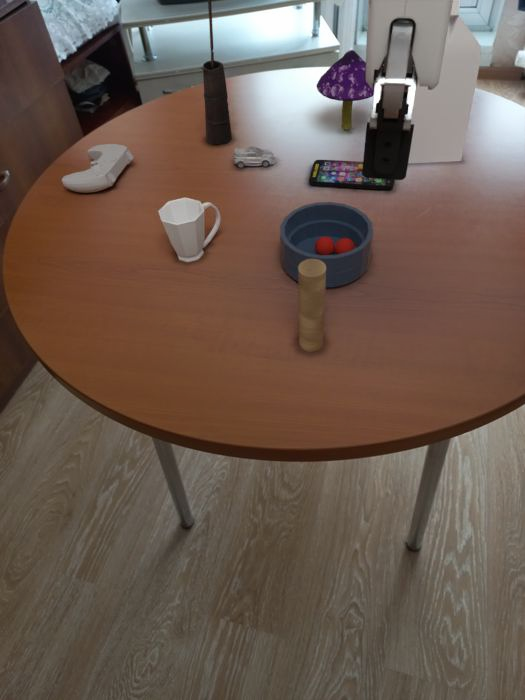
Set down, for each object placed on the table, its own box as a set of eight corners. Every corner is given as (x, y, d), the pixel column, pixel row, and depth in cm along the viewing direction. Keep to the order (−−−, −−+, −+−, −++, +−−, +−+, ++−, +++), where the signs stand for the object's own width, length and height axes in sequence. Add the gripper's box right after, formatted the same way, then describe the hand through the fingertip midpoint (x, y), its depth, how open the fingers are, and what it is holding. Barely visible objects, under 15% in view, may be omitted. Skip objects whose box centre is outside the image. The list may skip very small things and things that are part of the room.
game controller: (89, 140, 103) (131, 133, 99) (100, 161, 106) (141, 154, 102) (53, 179, 94) (98, 173, 90) (66, 200, 97) (110, 195, 93)
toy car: (275, 167, 98) (274, 152, 96) (233, 168, 98) (231, 154, 96) (275, 157, 100) (275, 142, 98) (234, 158, 101) (233, 144, 99)
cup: (160, 253, 83) (148, 210, 77) (209, 226, 87) (202, 183, 81) (184, 274, 79) (174, 230, 73) (235, 245, 83) (229, 201, 77)
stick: (318, 331, 70) (320, 256, 60) (326, 348, 68) (330, 273, 58) (296, 337, 69) (294, 261, 60) (303, 354, 67) (303, 279, 58)
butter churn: (211, 158, 101) (186, -9, 80) (185, 141, 107) (155, -20, 85) (248, 142, 105) (234, -23, 84) (221, 126, 110) (201, -33, 89)
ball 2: (349, 259, 76) (362, 249, 77) (339, 241, 75) (352, 232, 77) (337, 263, 79) (350, 254, 80) (327, 247, 78) (340, 237, 79)
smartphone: (393, 187, 89) (307, 181, 92) (392, 191, 90) (307, 186, 93) (395, 163, 94) (314, 158, 97) (395, 168, 95) (314, 163, 98)
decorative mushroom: (376, 115, 109) (384, 36, 98) (378, 145, 101) (387, 63, 89) (316, 116, 110) (318, 38, 99) (314, 145, 102) (315, 64, 91)
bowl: (348, 226, 84) (350, 194, 80) (384, 277, 76) (389, 244, 71) (270, 245, 83) (268, 213, 78) (298, 299, 74) (297, 267, 70)
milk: (461, 161, 95) (501, -4, 76) (398, 164, 96) (421, 2, 76) (447, 129, 103) (480, -27, 83) (389, 132, 104) (408, -22, 84)
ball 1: (330, 232, 79) (342, 246, 78) (318, 246, 81) (329, 260, 80) (319, 232, 77) (331, 247, 76) (307, 246, 78) (318, 261, 78)
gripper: (508, -123, 23) (434, 210, 36) (490, -170, 33) (438, 99, 46) (337, -116, 24) (326, 201, 37) (373, -163, 35) (354, 95, 48)
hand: (388, 144), depth 42 cm, fingers open, 9 cm apart
